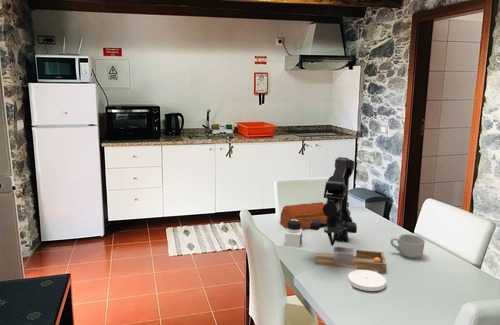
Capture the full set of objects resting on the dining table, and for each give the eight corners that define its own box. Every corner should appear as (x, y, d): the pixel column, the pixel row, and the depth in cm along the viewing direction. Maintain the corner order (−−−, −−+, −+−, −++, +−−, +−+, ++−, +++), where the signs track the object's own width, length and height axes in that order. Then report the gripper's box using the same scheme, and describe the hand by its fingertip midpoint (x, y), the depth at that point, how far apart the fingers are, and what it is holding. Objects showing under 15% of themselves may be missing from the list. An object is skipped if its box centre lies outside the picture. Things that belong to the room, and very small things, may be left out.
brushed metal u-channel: (334, 246, 177) (353, 248, 175) (333, 257, 178) (352, 259, 176) (334, 251, 172) (353, 253, 170) (333, 262, 173) (353, 264, 171)
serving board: (316, 254, 183) (316, 246, 182) (382, 261, 177) (383, 252, 176) (314, 266, 171) (315, 257, 171) (385, 273, 166) (386, 264, 165)
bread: (336, 226, 218) (337, 207, 216) (289, 232, 210) (289, 212, 208) (322, 217, 232) (323, 199, 230) (277, 222, 224) (278, 203, 222)
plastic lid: (367, 272, 167) (368, 267, 167) (393, 288, 155) (394, 282, 154) (339, 280, 161) (340, 274, 160) (365, 296, 149) (365, 290, 148)
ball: (373, 262, 174) (372, 256, 173) (380, 262, 173) (380, 256, 173) (373, 265, 171) (373, 258, 170) (381, 265, 170) (381, 258, 170)
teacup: (423, 253, 186) (425, 236, 184) (422, 262, 176) (424, 245, 174) (391, 247, 191) (392, 231, 190) (388, 256, 182) (389, 239, 180)
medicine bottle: (300, 249, 189) (301, 224, 186) (284, 247, 190) (285, 222, 188) (301, 243, 195) (302, 219, 193) (286, 241, 197) (287, 217, 194)
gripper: (310, 214, 165) (308, 251, 168) (358, 217, 162) (356, 255, 165) (311, 206, 176) (310, 240, 179) (356, 209, 172) (354, 244, 175)
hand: (332, 245), depth 174 cm, fingers closed
